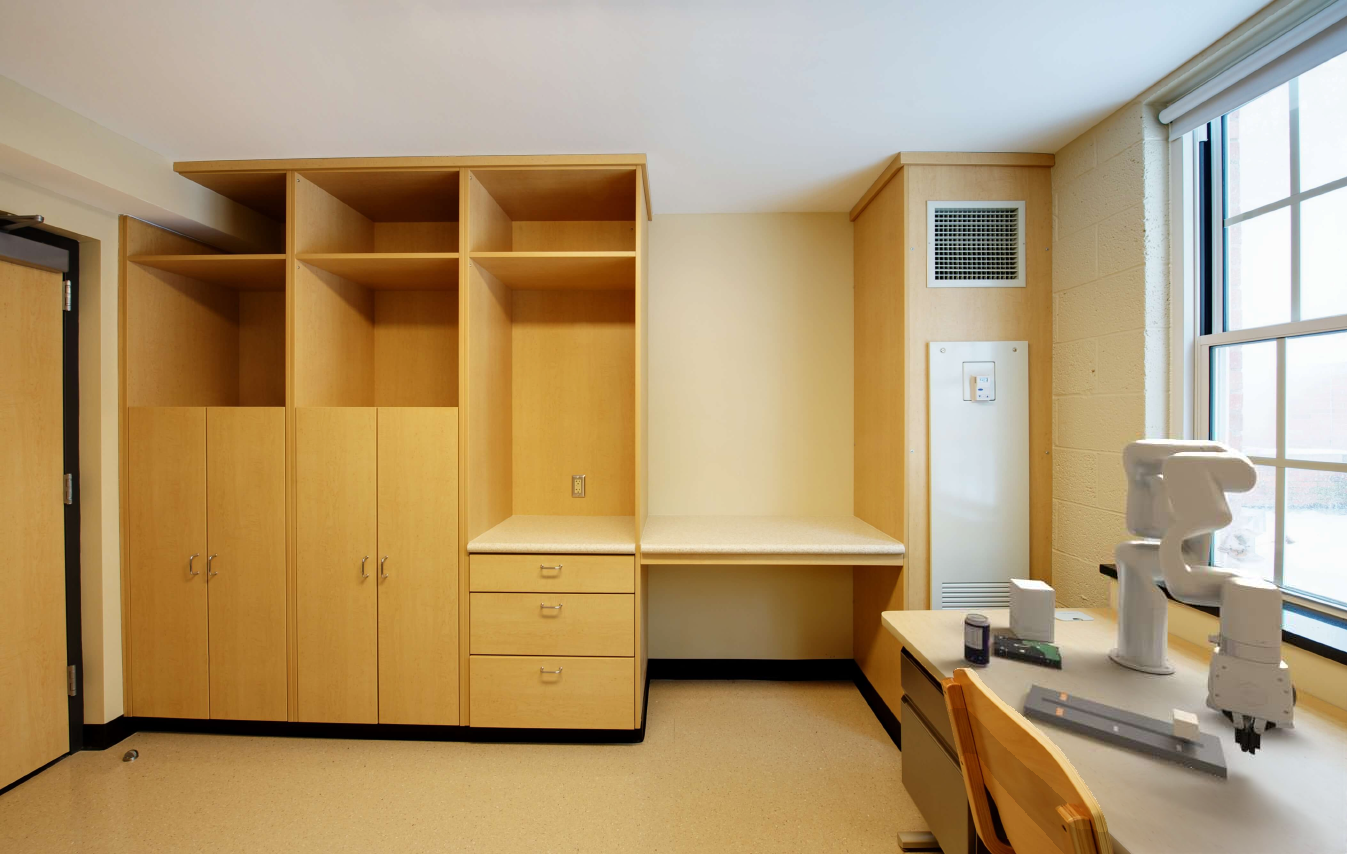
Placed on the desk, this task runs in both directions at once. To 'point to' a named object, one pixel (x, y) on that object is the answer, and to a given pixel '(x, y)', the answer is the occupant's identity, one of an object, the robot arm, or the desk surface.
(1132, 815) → the desk surface
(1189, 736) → the fader knob
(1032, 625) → the supplement box
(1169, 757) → the fader console
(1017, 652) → the disk drive
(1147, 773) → the desk surface
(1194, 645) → the desk surface
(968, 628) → the beverage can
